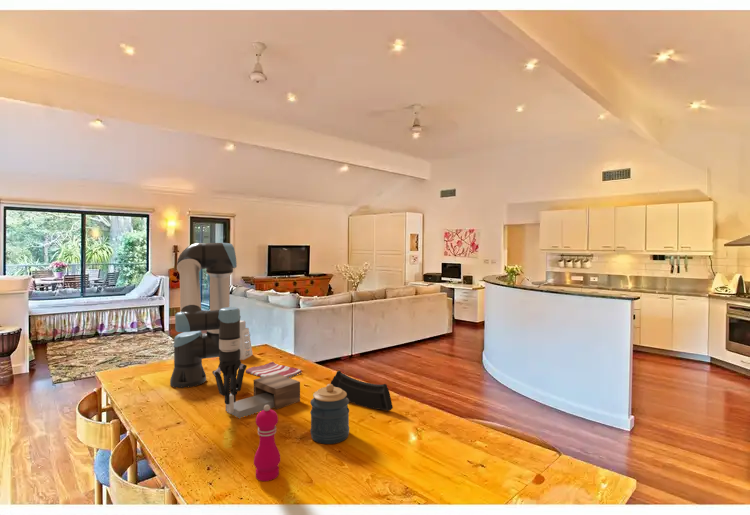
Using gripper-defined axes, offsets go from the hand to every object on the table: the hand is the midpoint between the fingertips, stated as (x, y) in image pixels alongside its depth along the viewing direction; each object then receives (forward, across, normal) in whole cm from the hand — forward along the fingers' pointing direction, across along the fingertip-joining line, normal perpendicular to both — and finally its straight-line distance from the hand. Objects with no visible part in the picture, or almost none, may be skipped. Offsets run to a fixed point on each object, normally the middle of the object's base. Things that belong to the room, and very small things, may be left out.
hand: (230, 411), depth 159 cm
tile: (+2, +10, 0) cm, 10 cm away
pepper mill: (+2, -14, -45) cm, 47 cm away
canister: (+2, +14, -40) cm, 42 cm away
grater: (+2, +44, +70) cm, 83 cm away
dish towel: (+2, +41, +31) cm, 51 cm away
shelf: (+1, +20, 0) cm, 20 cm away
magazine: (+2, +41, -27) cm, 50 cm away
